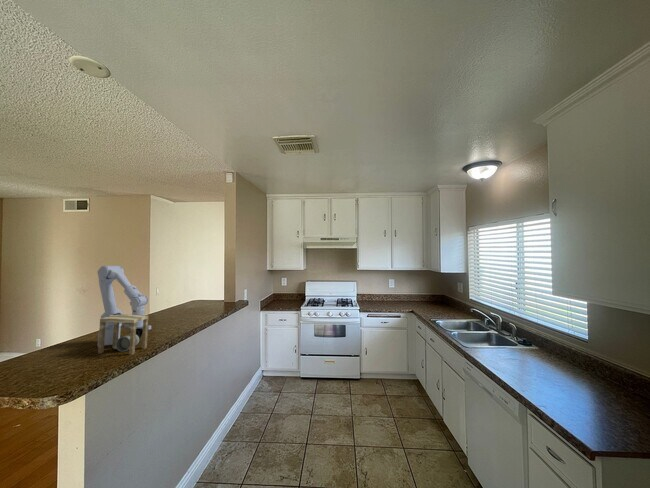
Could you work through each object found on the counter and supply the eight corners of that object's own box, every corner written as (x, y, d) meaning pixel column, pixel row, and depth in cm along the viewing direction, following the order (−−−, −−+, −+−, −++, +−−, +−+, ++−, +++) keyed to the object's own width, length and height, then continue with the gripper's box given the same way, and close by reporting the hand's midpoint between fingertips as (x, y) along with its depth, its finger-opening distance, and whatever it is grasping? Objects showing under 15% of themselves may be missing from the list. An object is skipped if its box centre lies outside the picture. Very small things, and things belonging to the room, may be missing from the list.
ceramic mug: (140, 346, 140) (140, 332, 141) (130, 351, 132) (130, 336, 133) (120, 346, 140) (120, 332, 140) (108, 352, 131) (109, 337, 132)
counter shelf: (132, 354, 128) (134, 319, 129) (97, 353, 129) (100, 318, 130) (146, 347, 138) (148, 315, 139) (114, 346, 139) (116, 314, 140)
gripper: (119, 319, 140) (118, 344, 139) (145, 319, 139) (143, 345, 138) (130, 316, 147) (128, 339, 146) (154, 316, 146) (153, 340, 145)
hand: (136, 342), depth 143 cm, fingers closed
